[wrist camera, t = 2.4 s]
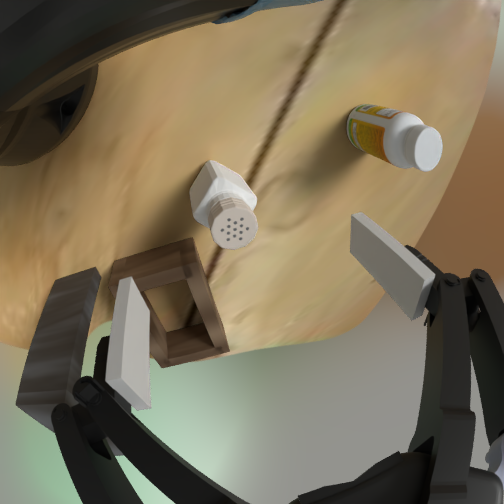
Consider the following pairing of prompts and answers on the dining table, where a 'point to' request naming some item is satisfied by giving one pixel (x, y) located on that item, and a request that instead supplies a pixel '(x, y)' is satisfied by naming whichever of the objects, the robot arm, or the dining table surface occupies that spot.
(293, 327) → the dining table surface
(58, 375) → the brown and grey frame
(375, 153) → the supplement bottle
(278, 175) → the dining table surface
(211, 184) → the pepper shaker
